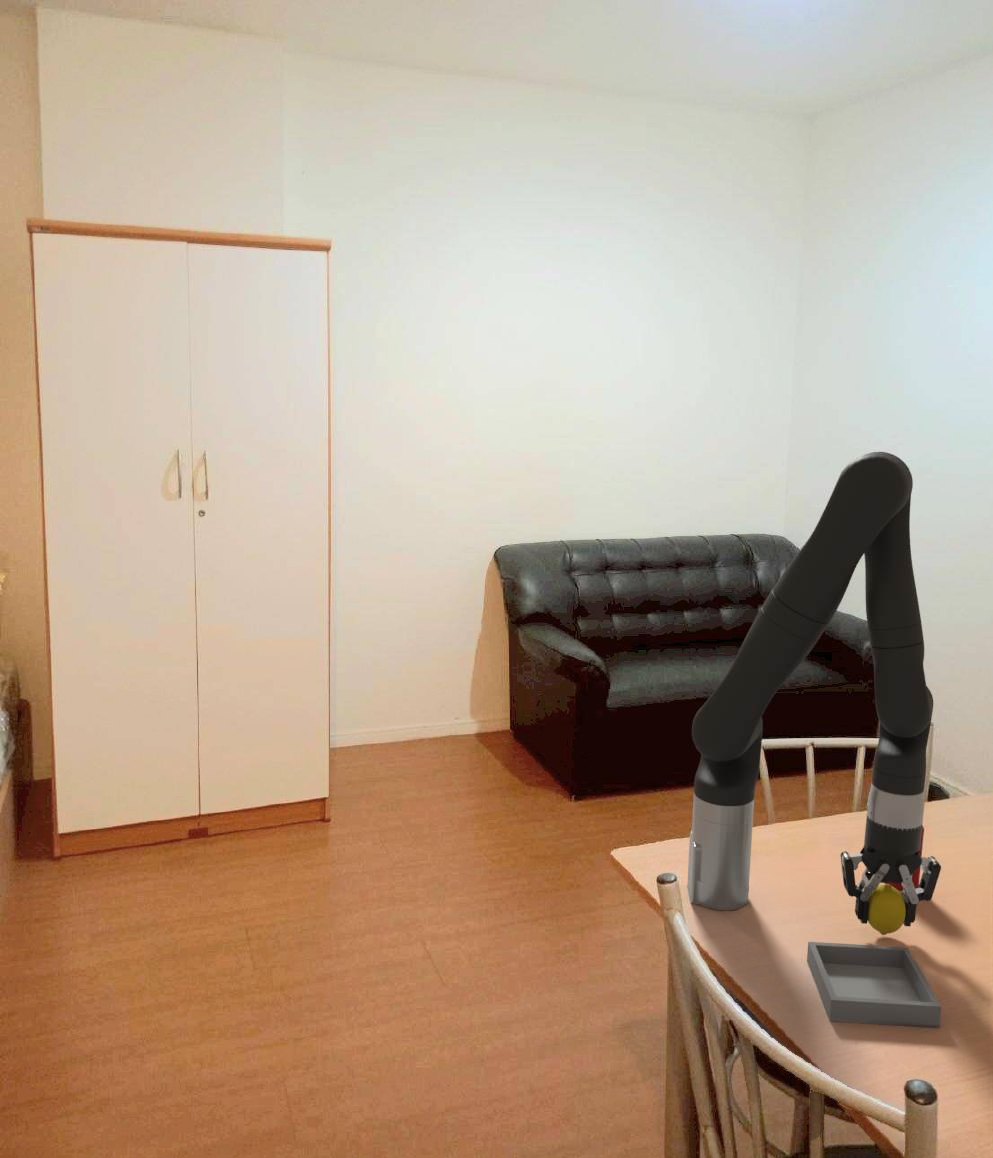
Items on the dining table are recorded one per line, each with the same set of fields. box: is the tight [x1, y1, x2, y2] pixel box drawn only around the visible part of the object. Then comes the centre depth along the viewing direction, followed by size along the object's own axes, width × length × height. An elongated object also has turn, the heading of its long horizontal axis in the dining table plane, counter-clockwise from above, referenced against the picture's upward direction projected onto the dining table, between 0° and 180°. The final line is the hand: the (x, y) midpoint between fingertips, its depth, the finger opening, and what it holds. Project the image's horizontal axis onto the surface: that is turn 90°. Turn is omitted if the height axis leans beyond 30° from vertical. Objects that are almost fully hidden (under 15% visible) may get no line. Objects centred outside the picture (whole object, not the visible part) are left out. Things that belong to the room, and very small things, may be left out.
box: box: [806, 941, 943, 1029], centre depth 133 cm, size 14×14×3 cm
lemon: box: [867, 884, 906, 936], centre depth 146 cm, size 6×6×8 cm
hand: (884, 921), depth 146 cm, fingers closed on lemon, 5 cm apart
